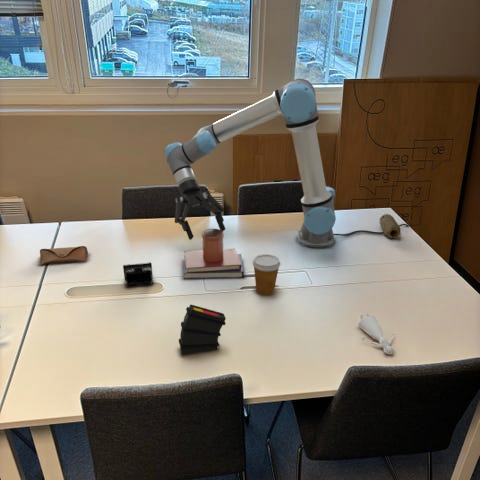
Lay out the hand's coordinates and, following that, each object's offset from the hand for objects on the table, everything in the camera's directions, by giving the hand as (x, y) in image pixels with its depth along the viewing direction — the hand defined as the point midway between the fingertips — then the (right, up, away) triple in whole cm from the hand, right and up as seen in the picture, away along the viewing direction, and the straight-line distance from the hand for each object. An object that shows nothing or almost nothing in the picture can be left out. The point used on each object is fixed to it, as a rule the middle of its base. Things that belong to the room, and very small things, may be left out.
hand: (207, 234), depth 186 cm
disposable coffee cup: (+21, -22, -8) cm, 31 cm away
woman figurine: (+54, -38, -33) cm, 73 cm away
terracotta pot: (+2, -8, +2) cm, 9 cm away
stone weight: (+78, +6, +36) cm, 86 cm away
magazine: (+1, -41, -38) cm, 56 cm away
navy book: (+2, -12, +5) cm, 13 cm away
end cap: (-25, -18, -4) cm, 31 cm away
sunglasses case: (-57, -8, +10) cm, 58 cm away
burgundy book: (+1, -10, +3) cm, 11 cm away
